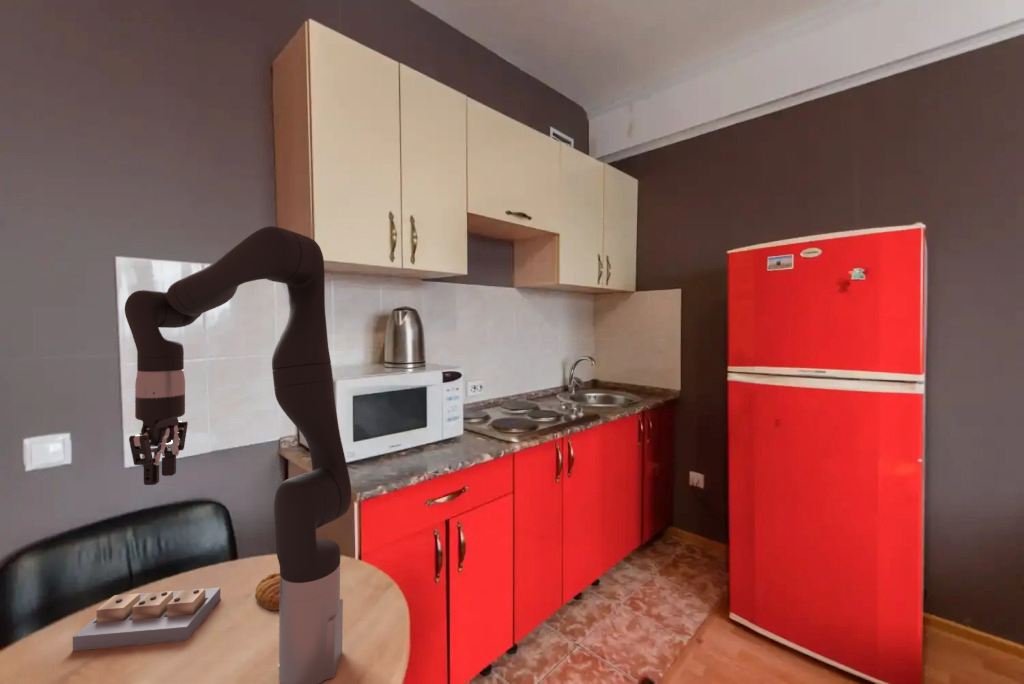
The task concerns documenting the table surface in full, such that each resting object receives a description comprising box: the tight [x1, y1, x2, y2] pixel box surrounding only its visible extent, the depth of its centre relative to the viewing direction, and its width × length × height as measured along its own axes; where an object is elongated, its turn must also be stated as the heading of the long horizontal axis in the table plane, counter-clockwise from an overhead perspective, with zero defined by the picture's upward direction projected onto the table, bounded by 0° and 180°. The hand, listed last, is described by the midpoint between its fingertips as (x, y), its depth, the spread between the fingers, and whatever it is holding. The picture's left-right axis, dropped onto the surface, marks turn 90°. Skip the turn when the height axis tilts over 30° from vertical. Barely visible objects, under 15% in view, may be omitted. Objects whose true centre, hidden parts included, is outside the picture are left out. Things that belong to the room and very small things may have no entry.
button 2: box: [167, 588, 206, 617], centre depth 82 cm, size 4×4×3 cm
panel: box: [72, 587, 221, 651], centre depth 82 cm, size 18×12×2 cm, turn 100°
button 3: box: [132, 590, 174, 620], centre depth 81 cm, size 4×4×3 cm
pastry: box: [254, 572, 280, 611], centre depth 89 cm, size 9×7×4 cm
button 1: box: [96, 592, 141, 623], centre depth 80 cm, size 4×4×3 cm
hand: (160, 479), depth 83 cm, fingers open, 4 cm apart
